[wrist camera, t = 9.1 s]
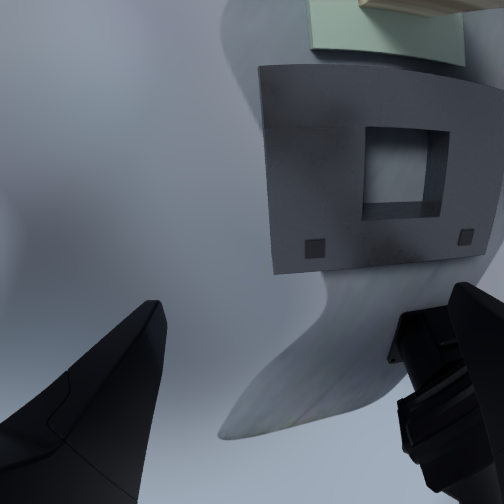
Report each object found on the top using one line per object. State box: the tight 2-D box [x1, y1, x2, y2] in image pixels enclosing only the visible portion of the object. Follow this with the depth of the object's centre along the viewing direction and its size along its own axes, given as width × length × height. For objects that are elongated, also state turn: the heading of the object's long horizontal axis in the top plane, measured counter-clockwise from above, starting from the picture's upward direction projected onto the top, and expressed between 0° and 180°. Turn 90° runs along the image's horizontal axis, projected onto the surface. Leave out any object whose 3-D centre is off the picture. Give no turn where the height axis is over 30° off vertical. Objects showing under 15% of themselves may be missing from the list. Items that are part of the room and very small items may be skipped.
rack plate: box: [258, 64, 504, 275], centre depth 17 cm, size 12×16×3 cm
